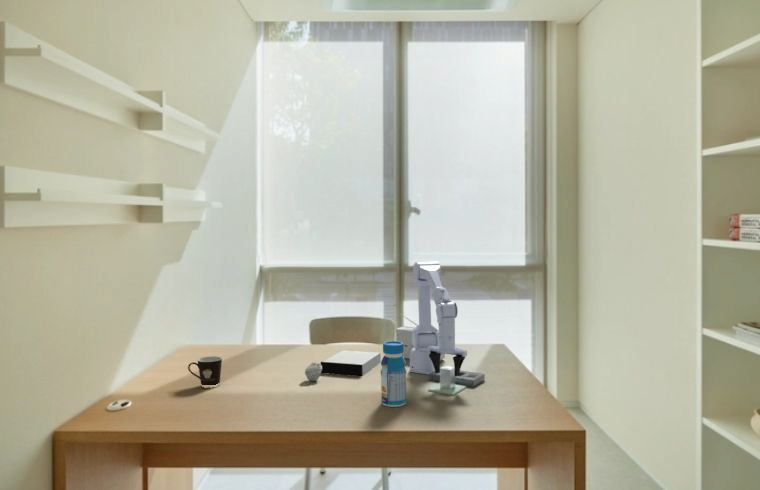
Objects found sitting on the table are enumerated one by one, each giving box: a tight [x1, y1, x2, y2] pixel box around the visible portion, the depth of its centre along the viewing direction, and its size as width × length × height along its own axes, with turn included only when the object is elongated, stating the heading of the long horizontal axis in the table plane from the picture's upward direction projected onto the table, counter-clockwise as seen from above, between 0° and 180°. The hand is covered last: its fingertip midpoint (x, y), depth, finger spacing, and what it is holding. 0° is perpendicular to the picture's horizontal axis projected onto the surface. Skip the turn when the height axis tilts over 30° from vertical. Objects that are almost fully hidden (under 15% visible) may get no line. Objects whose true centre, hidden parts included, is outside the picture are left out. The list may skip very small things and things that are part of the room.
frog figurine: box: [304, 361, 322, 382], centre depth 211 cm, size 6×7×7 cm
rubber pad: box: [427, 382, 467, 396], centre depth 198 cm, size 10×10×1 cm
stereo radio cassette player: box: [395, 312, 446, 362], centre depth 242 cm, size 21×8×20 cm, turn 58°
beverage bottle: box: [380, 340, 407, 408], centre depth 183 cm, size 8×8×20 cm
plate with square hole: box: [428, 369, 485, 388], centre depth 209 cm, size 18×10×3 cm, turn 57°
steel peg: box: [439, 365, 456, 390], centre depth 198 cm, size 4×4×7 cm
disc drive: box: [320, 349, 382, 377], centre depth 229 cm, size 18×22×5 cm
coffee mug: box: [187, 355, 223, 385], centre depth 206 cm, size 12×9×10 cm
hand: (447, 374), depth 198 cm, fingers open, 7 cm apart
